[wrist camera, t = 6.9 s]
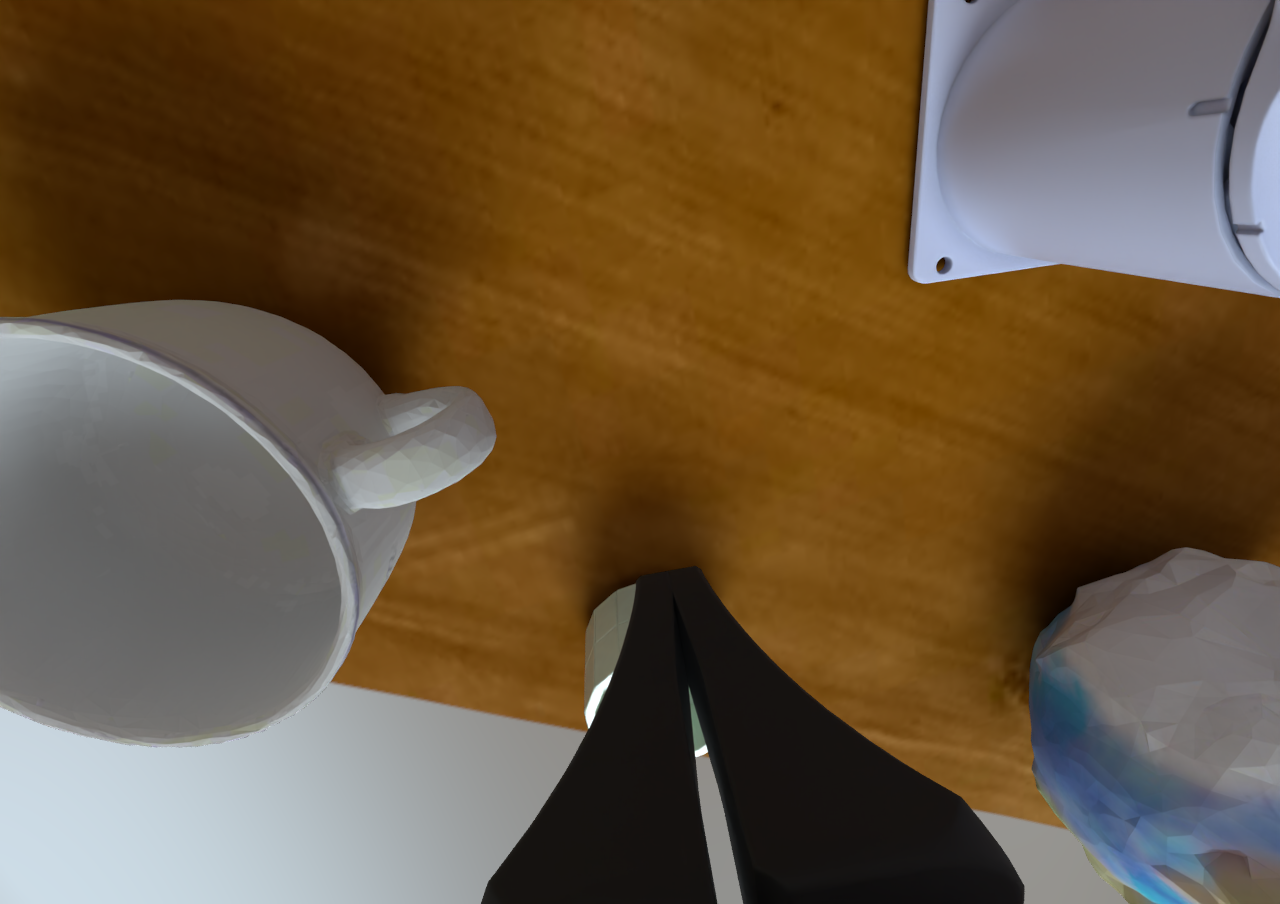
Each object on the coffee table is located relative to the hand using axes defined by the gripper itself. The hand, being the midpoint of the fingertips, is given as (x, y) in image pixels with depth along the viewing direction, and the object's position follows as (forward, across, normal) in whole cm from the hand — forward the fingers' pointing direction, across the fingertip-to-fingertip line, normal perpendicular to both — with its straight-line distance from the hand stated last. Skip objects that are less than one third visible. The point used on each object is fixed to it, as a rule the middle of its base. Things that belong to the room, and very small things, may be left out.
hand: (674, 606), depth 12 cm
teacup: (+9, +11, -3) cm, 14 cm away
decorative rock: (+9, -21, +14) cm, 27 cm away
